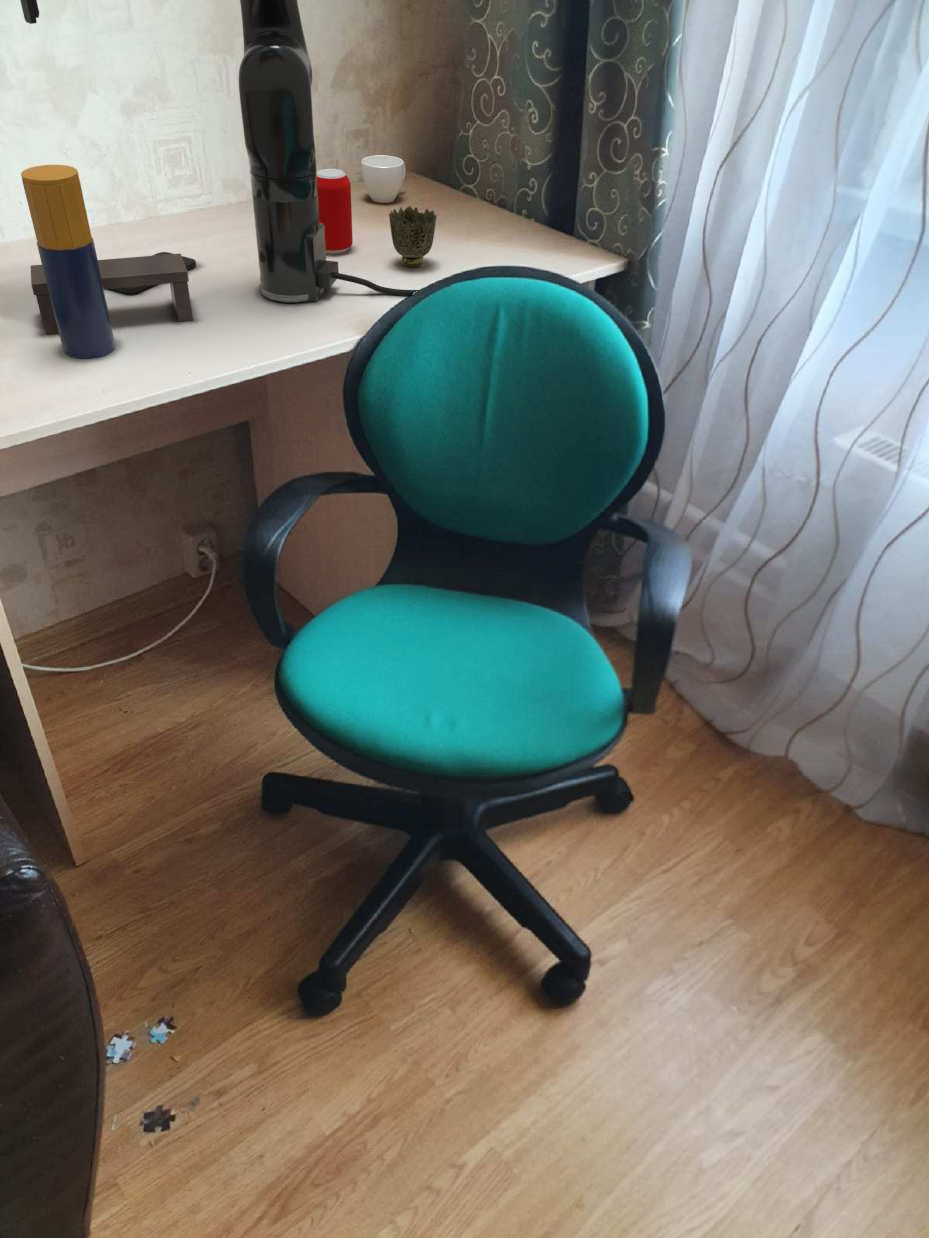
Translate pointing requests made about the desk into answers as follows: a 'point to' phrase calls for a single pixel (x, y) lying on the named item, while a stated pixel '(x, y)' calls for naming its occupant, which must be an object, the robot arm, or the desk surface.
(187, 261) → the phone
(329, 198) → the beverage can
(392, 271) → the desk surface
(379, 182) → the cup
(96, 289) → the flask
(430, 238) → the cup
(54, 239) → the cap
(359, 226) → the desk surface
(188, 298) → the small brown bench
